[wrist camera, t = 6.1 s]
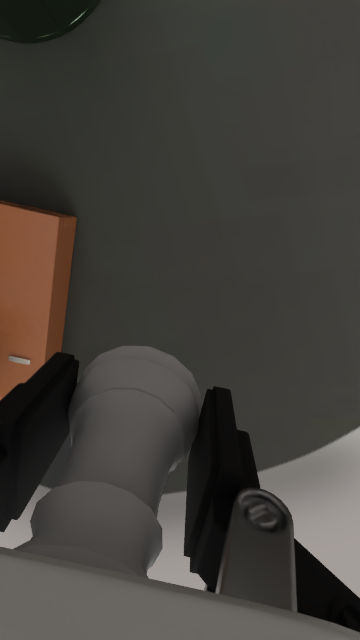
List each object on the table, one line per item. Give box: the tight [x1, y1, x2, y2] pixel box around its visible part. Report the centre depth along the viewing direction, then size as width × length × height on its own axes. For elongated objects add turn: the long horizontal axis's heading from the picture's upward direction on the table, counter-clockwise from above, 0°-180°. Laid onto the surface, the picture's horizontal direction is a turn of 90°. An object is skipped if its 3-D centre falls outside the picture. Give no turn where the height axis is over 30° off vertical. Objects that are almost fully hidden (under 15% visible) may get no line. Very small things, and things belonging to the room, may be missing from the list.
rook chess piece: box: [13, 346, 201, 579], centre depth 8 cm, size 4×4×8 cm
